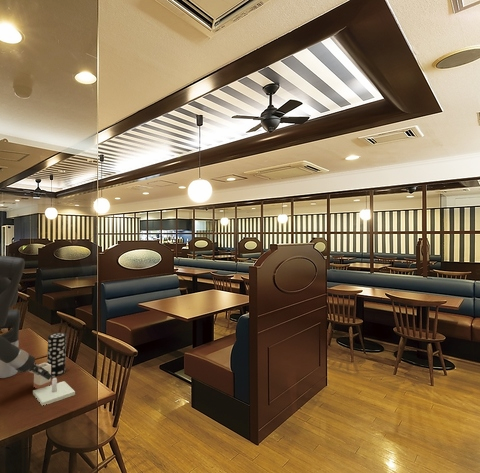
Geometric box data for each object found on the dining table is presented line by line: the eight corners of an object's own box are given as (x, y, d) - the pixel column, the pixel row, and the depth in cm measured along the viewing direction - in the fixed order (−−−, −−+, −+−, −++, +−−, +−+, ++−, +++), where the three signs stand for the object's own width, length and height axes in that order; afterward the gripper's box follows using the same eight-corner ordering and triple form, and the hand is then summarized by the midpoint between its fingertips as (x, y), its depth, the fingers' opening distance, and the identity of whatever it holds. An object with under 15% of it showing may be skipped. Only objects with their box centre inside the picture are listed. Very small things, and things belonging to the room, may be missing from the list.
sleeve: (33, 387, 143) (34, 366, 143) (44, 382, 148) (45, 362, 148) (39, 389, 141) (40, 368, 141) (50, 385, 145) (51, 364, 145)
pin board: (32, 393, 137) (33, 377, 137) (64, 384, 147) (64, 368, 147) (42, 406, 128) (42, 388, 128) (74, 394, 138) (75, 378, 138)
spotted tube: (44, 377, 152) (45, 338, 152) (49, 370, 160) (51, 333, 160) (62, 376, 155) (63, 337, 155) (67, 369, 163) (68, 332, 163)
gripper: (35, 355, 134) (60, 371, 145) (17, 349, 141) (43, 365, 151) (22, 372, 130) (49, 387, 140) (4, 364, 136) (31, 379, 147)
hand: (46, 375), depth 146 cm, fingers open, 6 cm apart
